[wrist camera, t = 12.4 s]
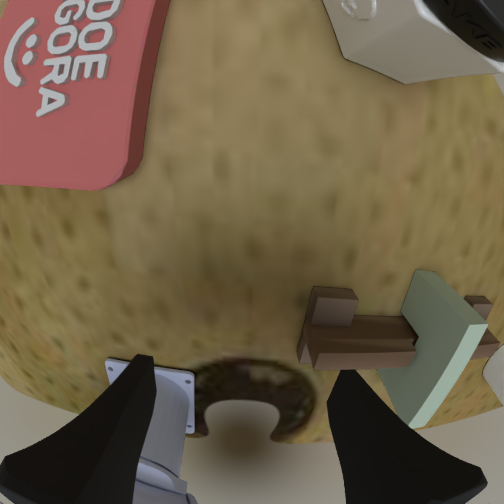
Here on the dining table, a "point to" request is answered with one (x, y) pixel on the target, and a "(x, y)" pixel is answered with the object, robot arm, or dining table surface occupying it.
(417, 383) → the slotted plate
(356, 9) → the jar
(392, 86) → the dining table surface
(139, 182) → the dining table surface
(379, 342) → the walnut stand
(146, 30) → the plaque
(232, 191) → the dining table surface
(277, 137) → the dining table surface
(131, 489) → the robot arm
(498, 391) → the bottle
